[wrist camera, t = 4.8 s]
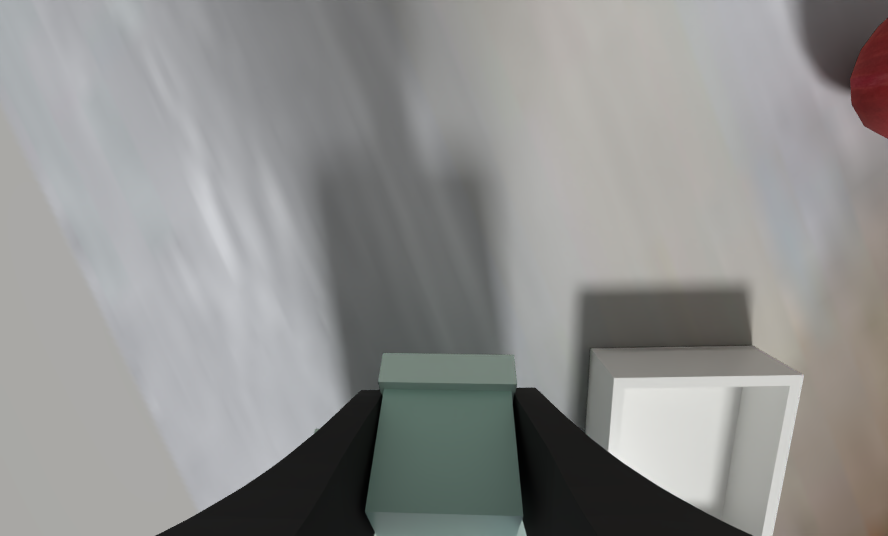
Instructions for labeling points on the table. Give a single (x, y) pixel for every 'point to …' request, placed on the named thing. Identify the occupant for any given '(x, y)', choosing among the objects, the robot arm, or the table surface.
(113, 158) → the table surface
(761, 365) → the tub
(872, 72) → the onion
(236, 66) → the table surface
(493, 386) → the lid
